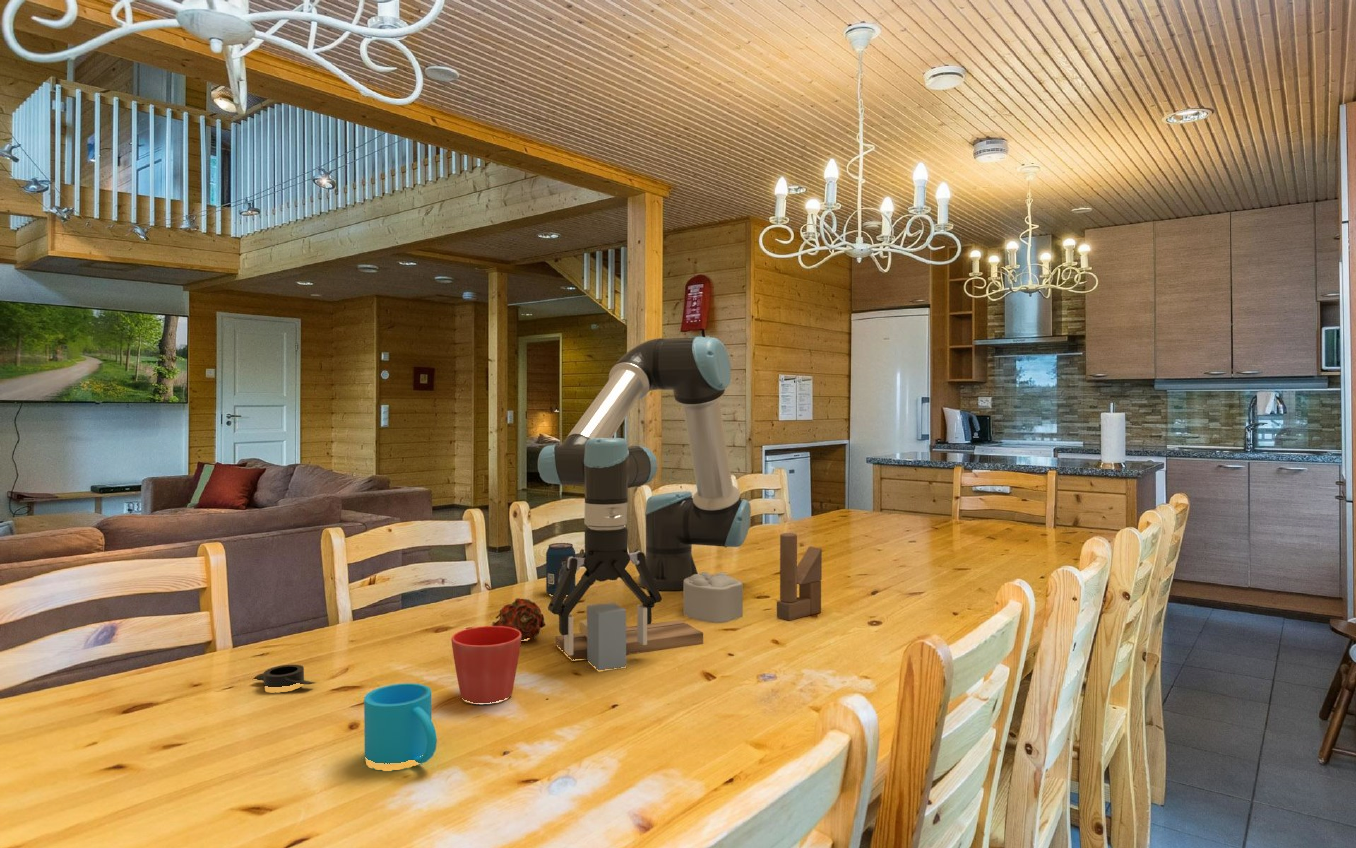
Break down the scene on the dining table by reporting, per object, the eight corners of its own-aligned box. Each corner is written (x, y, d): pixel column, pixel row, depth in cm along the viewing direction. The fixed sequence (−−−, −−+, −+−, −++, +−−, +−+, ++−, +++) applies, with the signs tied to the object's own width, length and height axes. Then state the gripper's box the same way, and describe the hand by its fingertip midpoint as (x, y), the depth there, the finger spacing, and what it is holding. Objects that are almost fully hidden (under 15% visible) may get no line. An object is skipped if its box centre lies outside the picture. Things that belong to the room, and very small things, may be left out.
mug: (352, 759, 101) (351, 696, 101) (408, 738, 108) (408, 679, 107) (404, 787, 94) (404, 719, 93) (462, 763, 100) (462, 699, 100)
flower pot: (535, 688, 126) (534, 628, 126) (497, 714, 116) (497, 648, 116) (477, 681, 130) (477, 622, 130) (436, 705, 119) (436, 641, 119)
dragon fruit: (536, 655, 148) (502, 651, 156) (563, 621, 153) (529, 618, 162) (509, 623, 145) (476, 620, 154) (538, 590, 150) (505, 589, 159)
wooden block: (821, 612, 173) (822, 530, 172) (788, 621, 166) (789, 536, 165) (808, 609, 175) (809, 528, 175) (775, 618, 169) (776, 533, 168)
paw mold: (718, 625, 163) (719, 583, 163) (671, 614, 172) (671, 574, 172) (748, 615, 171) (748, 575, 171) (702, 605, 180) (702, 567, 179)
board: (555, 646, 148) (555, 635, 148) (680, 629, 159) (680, 619, 159) (572, 662, 139) (572, 650, 139) (703, 643, 150) (703, 632, 150)
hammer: (571, 647, 148) (571, 594, 147) (596, 644, 150) (596, 592, 150) (598, 672, 134) (598, 613, 134) (626, 668, 136) (625, 610, 136)
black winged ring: (264, 703, 121) (264, 684, 121) (250, 685, 128) (250, 667, 128) (318, 691, 126) (317, 673, 125) (301, 675, 133) (301, 657, 133)
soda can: (560, 590, 194) (560, 541, 194) (581, 594, 190) (581, 544, 190) (540, 595, 188) (539, 545, 188) (561, 599, 184) (560, 548, 184)
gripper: (542, 534, 129) (542, 664, 129) (680, 525, 139) (679, 644, 140) (530, 528, 135) (530, 651, 136) (662, 519, 146) (662, 633, 147)
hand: (606, 648), depth 138 cm, fingers open, 13 cm apart
